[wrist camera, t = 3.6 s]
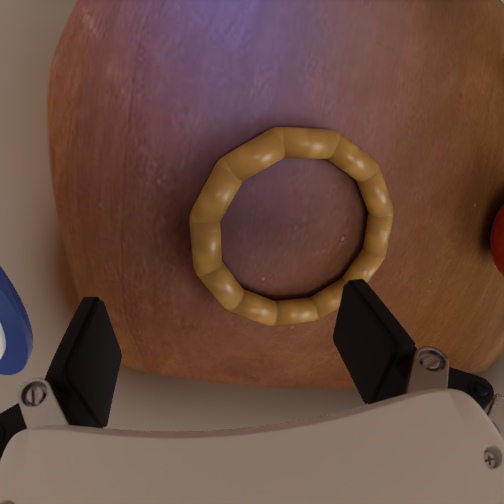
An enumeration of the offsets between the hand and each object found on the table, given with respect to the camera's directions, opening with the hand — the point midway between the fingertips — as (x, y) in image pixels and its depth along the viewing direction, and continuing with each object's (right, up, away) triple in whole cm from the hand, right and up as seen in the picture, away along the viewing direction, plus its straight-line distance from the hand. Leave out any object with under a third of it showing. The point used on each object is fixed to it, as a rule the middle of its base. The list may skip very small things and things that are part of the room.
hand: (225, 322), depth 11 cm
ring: (+4, +4, +8) cm, 9 cm away
